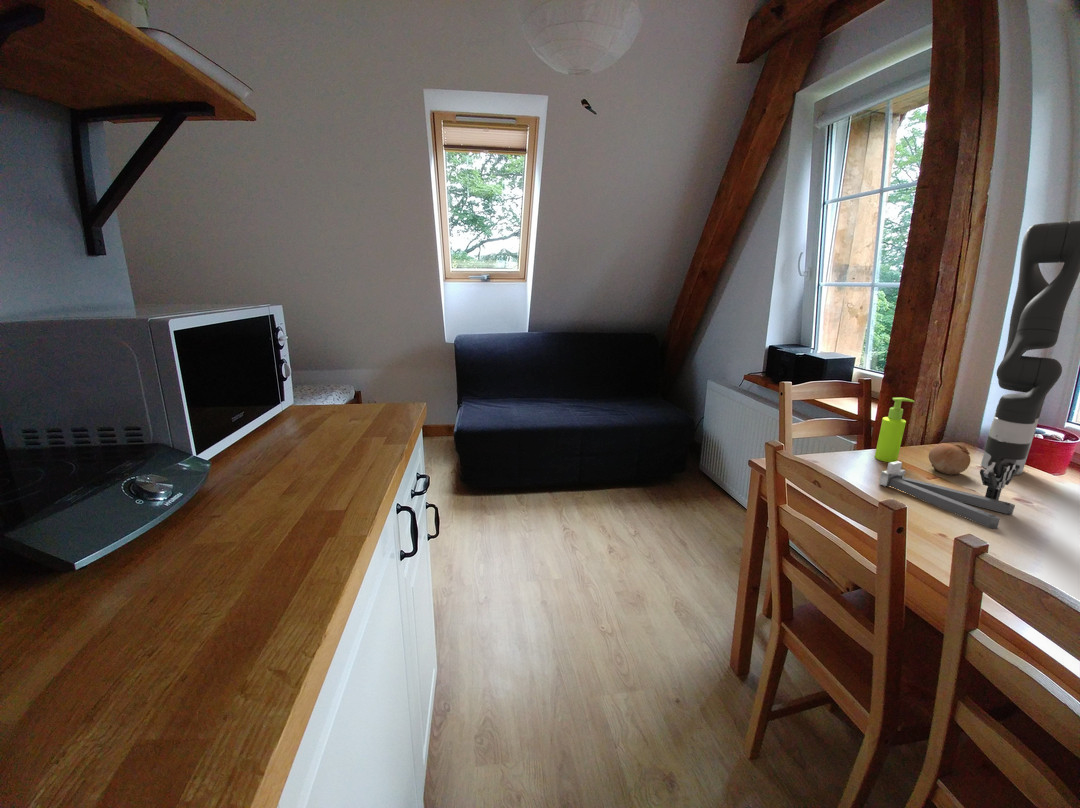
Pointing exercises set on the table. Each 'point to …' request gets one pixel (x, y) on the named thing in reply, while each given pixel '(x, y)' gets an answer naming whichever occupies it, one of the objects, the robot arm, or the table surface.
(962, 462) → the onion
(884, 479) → the rail slider block
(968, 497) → the bar
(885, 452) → the soap dispenser
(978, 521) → the base
